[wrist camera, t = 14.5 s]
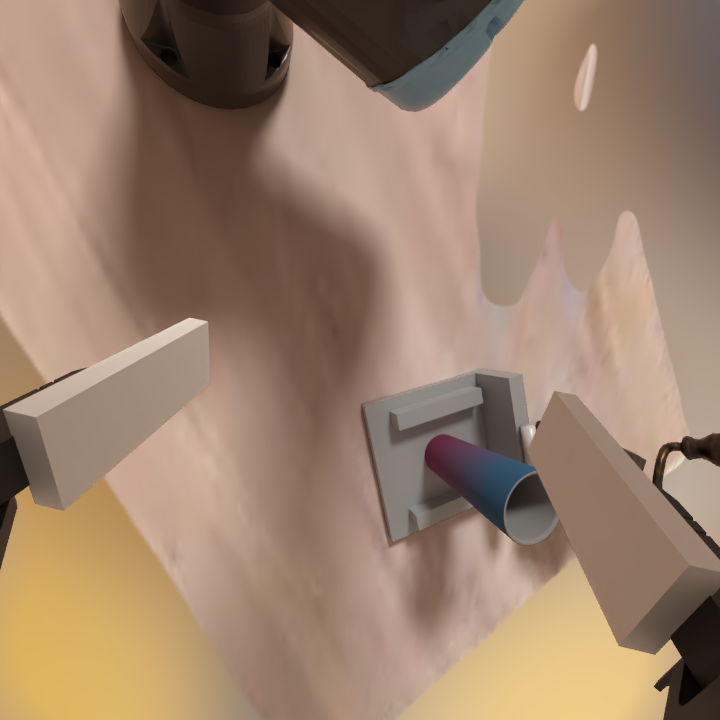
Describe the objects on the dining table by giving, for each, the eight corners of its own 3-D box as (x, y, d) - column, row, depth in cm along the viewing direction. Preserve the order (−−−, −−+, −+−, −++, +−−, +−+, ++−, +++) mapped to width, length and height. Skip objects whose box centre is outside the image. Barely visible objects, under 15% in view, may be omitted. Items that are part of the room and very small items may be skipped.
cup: (455, 482, 46) (551, 549, 31) (411, 473, 43) (494, 541, 29) (469, 433, 46) (571, 477, 32) (427, 422, 43) (516, 464, 29)
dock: (361, 404, 42) (390, 421, 33) (482, 368, 47) (533, 375, 39) (389, 537, 44) (423, 583, 36) (501, 489, 49) (552, 519, 41)
